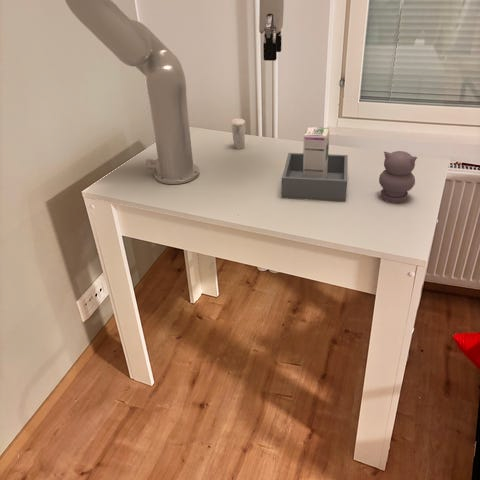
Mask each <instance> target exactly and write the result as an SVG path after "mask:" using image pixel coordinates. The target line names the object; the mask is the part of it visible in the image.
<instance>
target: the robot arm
mask: <svg viewBox="0 0 480 480" xmlns="http://www.w3.org/2000/svg"><path fill="white" fill-rule="evenodd" d="M284 1H285V0H259V17H258V18H259V19H258V21H259V24H258V25H259V26H258V28H259V29H258V30H259V33H260V34H263V33H264V34H263V35H264V36H263V44H262V45H263V54H262V55H263V60H264V61H276V60H277V59H278V57H277V53H280V52H281V53H282V28H283V25H284V11H285V9H284V8H285V7H284V5H285V4H284ZM65 3H66V5H67V7H68V8H69V10H70V11H71V13H72V14H73V15H74V16H75V18H77V19H78V21H80V23H81V24H82V25H83V26H85V27H86V29H88V30H89V31H90V32H91V33H92V34H93V35H94V36H95V37H96V38H97V39H98V40H99V41H100V42H101V43H102V44H103V45H104V46H105V47H106V48H107V49H108V50H109V51H110V52H111V53H112V54H113V55H114V56H115V57H117V59H118V60H119V61H120V62H121V63H123V64H124V65H127V66H129V67H133V68H134V67H135V68H136V69H137V70H138V71H139V72H141V73H142V74H143V75H144V76H145V77H146V87H147V88H146V89H147V94H148V100H149V105H150V106H149V107H150V111H151V112H150V113H151V114H150V115H151V120H152V126H153V132H154V138H155V146H156V154H157V158H156V159H153V158H146V159H145V165H146V168H147V170H149V169H150V170H153V169H154V170H155V171H154V177H155V179H156V180H157V181H158V182H159V183H162V184H165V185H167V184H168V185H180V184H185V183H186V184H187V183H189V182H192V181H194V180H195V179H196V178H198V177H199V175H200V168H199V166H198V165H196V164H195V163H194V161H193V159H194V158H193V150H192V149H193V148H192V141H191V132H190V130H191V129H190V122H189V121H190V120H189V112H188V98H187V85H186V84H187V82H186V77H185V73H184V70H183V67H182V64H181V61H180V60H179V58H178V57H177V56H176V55H175V53H173V51H171V50H170V49H169V48H168V47H167V46H166V45H165V44H164V43H163V42H162V41H161V40H160V39H159V38H158V37H157V36H156V35H155V34H154V33H153V31H151V30H150V29H149V28H148V27H147V26H146V25H145V24H143V23H142V22H140V21H139V20H135V19H131V18H130V17H128V16H127V14H125V13H124V12H123V11H122V10H121V9H120V8H119V6H118V5H117V4H116V3H115V2H114V1H112V0H65Z"/></svg>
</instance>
